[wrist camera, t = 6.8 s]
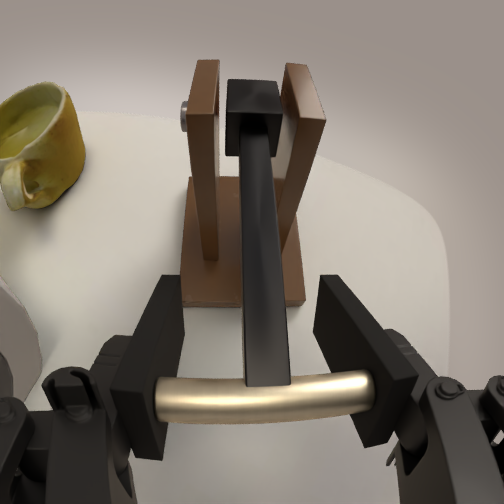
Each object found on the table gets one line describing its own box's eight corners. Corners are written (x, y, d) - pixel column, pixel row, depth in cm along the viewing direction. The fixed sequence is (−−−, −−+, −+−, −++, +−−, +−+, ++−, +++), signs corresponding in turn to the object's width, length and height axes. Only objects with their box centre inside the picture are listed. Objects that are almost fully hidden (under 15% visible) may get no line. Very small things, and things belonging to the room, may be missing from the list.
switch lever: (352, 411, 8) (390, 408, 6) (166, 420, 8) (145, 422, 6) (303, 123, 14) (312, 84, 12) (193, 119, 14) (190, 78, 12)
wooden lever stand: (302, 306, 20) (386, 182, 9) (180, 306, 20) (125, 175, 8) (288, 187, 25) (325, 46, 13) (190, 185, 24) (174, 39, 13)
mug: (11, 138, 24) (-8, 74, 15) (92, 136, 28) (94, 68, 20) (-13, 244, 21) (-57, 199, 12) (80, 244, 25) (65, 194, 16)
